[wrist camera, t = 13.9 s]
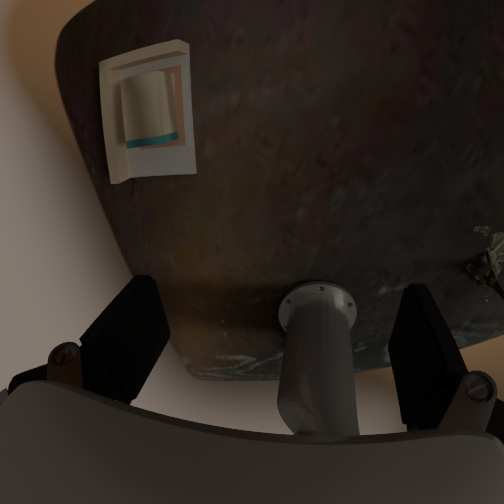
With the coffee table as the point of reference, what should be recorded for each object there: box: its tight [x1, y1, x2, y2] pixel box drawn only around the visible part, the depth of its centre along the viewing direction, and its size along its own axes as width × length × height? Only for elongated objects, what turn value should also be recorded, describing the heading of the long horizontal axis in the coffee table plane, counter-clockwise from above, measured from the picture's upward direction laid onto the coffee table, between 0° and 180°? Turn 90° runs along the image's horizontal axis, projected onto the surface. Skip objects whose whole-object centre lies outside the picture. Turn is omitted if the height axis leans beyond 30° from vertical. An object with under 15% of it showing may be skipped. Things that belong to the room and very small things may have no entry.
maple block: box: [120, 71, 179, 149], centre depth 30 cm, size 5×9×5 cm, turn 2°
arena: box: [99, 39, 197, 184], centre depth 32 cm, size 18×12×4 cm, turn 2°
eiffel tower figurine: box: [466, 226, 504, 302], centre depth 30 cm, size 15×10×13 cm
